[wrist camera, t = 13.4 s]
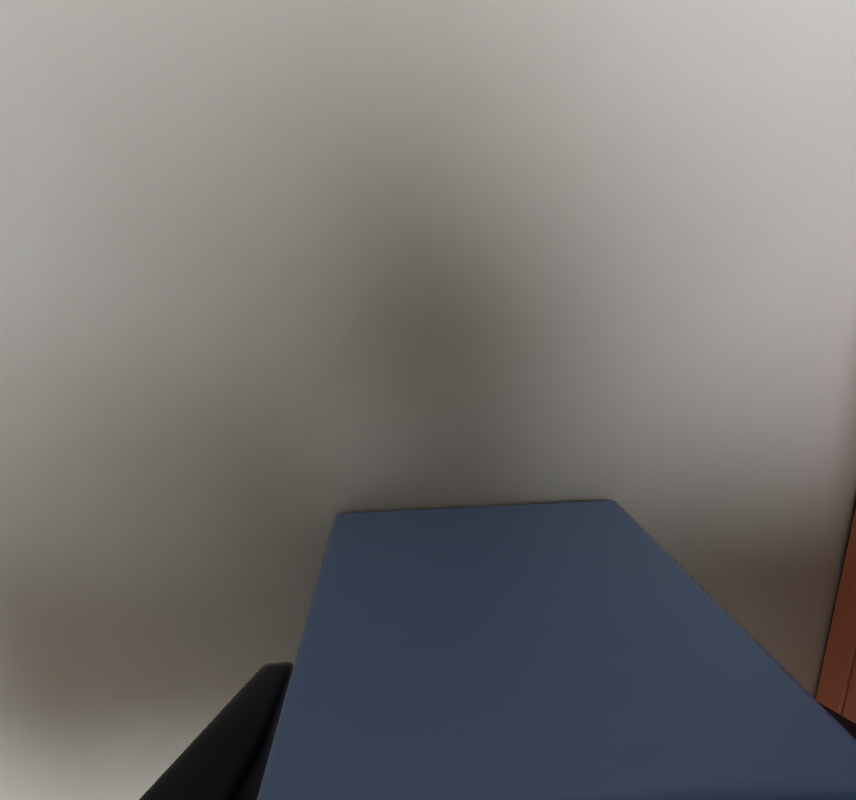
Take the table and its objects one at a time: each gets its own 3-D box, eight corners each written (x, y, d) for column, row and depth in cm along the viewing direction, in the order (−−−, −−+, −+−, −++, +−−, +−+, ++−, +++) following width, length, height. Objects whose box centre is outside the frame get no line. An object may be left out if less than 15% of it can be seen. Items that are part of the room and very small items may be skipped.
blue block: (352, 741, 8) (301, 1230, 4) (334, 511, 7) (240, 839, 3) (597, 722, 9) (800, 1166, 4) (614, 497, 8) (907, 782, 3)
